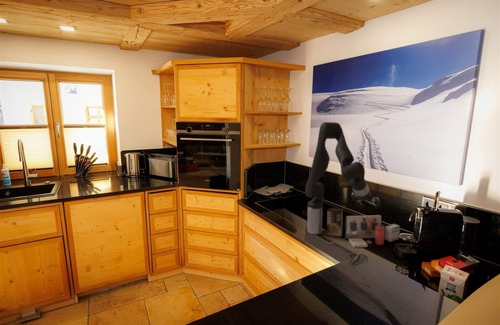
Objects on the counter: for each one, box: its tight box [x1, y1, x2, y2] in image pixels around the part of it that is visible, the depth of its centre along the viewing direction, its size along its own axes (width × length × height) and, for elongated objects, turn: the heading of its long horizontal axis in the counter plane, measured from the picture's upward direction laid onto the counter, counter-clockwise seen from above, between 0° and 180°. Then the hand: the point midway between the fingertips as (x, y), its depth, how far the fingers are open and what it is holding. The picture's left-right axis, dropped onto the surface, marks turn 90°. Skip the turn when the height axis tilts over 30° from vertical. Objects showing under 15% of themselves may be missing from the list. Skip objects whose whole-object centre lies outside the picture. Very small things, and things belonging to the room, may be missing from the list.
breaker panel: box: [344, 214, 382, 240], centre depth 163 cm, size 4×21×14 cm, turn 91°
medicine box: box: [384, 223, 401, 243], centre depth 161 cm, size 8×4×9 cm, turn 118°
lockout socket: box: [348, 238, 368, 248], centre depth 156 cm, size 8×8×2 cm
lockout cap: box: [374, 225, 385, 246], centre depth 156 cm, size 5×5×10 cm
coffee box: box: [326, 207, 344, 237], centre depth 170 cm, size 9×6×16 cm
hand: (368, 205), depth 146 cm, fingers open, 8 cm apart
